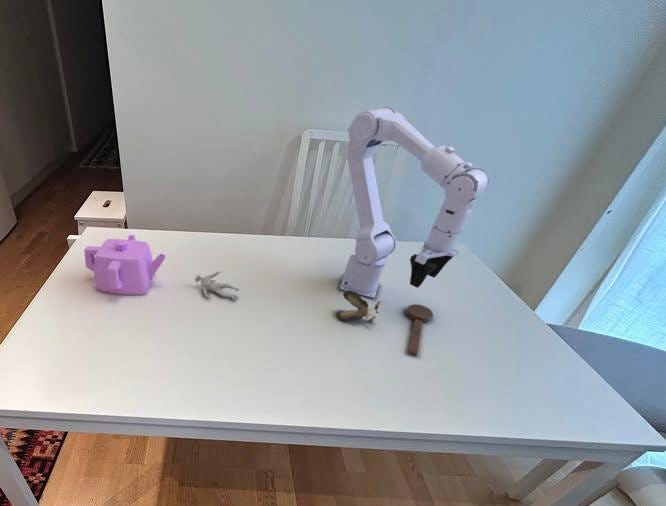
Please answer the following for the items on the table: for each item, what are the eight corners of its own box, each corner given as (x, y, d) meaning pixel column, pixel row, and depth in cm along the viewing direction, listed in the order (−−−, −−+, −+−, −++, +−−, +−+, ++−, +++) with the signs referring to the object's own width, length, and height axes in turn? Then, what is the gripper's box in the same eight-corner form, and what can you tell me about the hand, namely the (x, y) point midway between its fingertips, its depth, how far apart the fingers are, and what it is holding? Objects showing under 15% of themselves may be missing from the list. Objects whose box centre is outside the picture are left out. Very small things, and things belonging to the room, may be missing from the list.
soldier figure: (228, 308, 101) (188, 287, 102) (227, 310, 106) (189, 290, 107) (242, 282, 101) (201, 261, 102) (241, 285, 106) (202, 265, 106)
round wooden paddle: (426, 359, 87) (428, 354, 86) (398, 350, 89) (400, 346, 88) (431, 312, 101) (433, 308, 100) (407, 306, 103) (409, 301, 102)
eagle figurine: (373, 306, 100) (340, 294, 101) (386, 296, 93) (350, 283, 94) (365, 332, 99) (331, 320, 99) (377, 324, 92) (341, 311, 92)
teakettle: (85, 279, 109) (76, 238, 100) (137, 261, 117) (133, 222, 109) (114, 307, 99) (107, 265, 91) (169, 285, 107) (167, 245, 99)
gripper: (448, 243, 79) (422, 298, 88) (480, 226, 86) (453, 278, 95) (417, 231, 83) (394, 284, 92) (449, 215, 90) (426, 266, 99)
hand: (422, 280), depth 94 cm, fingers open, 7 cm apart
